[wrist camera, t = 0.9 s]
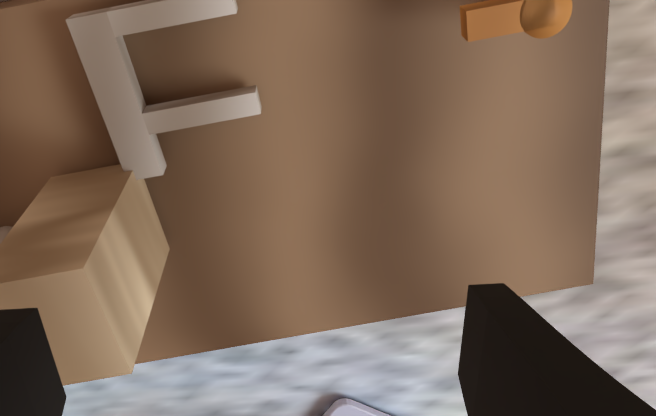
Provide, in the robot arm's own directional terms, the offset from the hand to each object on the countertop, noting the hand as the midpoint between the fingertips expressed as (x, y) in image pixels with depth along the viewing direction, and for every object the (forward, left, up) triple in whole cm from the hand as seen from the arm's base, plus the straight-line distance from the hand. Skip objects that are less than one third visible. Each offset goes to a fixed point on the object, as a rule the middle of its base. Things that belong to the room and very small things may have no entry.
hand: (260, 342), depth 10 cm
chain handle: (-5, +7, -8) cm, 12 cm away
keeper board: (-2, +1, -10) cm, 10 cm away
